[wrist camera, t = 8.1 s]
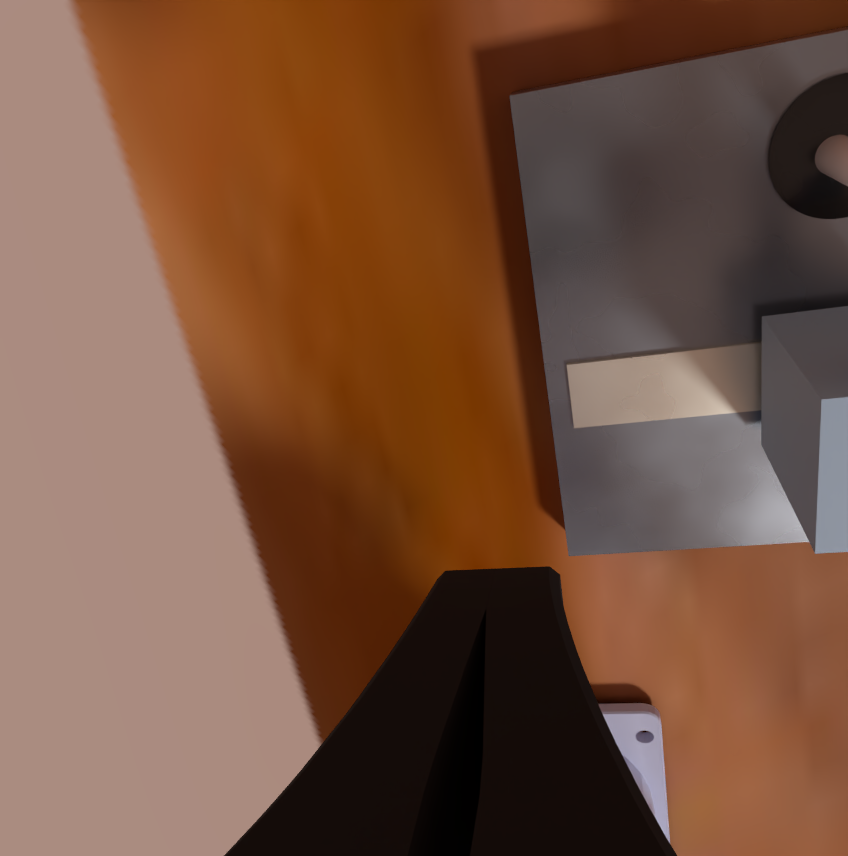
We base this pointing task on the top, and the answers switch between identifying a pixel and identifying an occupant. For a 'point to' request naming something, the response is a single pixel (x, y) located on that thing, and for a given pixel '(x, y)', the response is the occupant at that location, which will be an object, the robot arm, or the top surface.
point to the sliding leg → (810, 401)
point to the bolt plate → (678, 280)
